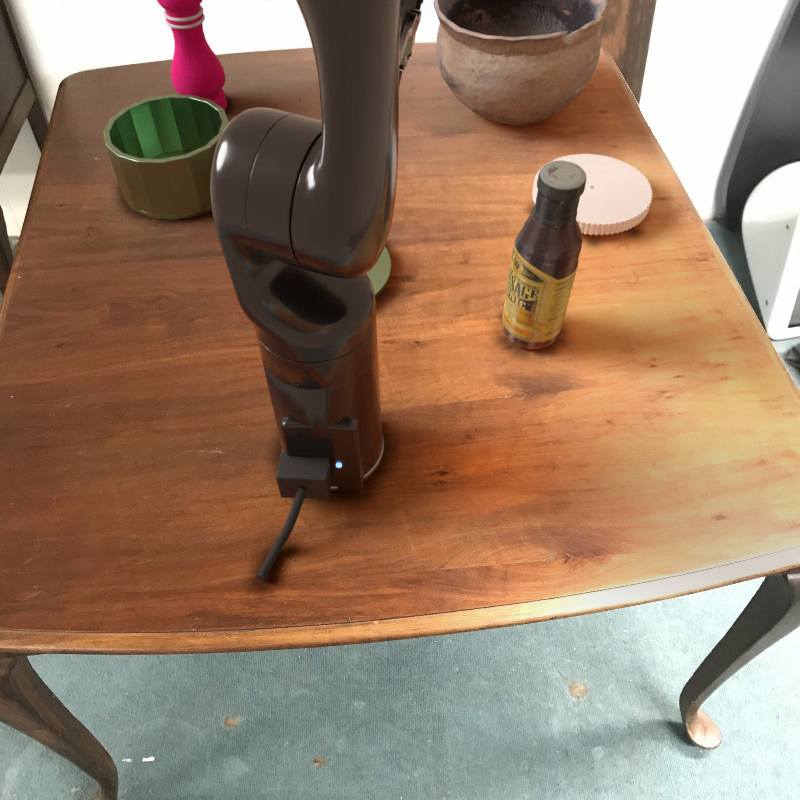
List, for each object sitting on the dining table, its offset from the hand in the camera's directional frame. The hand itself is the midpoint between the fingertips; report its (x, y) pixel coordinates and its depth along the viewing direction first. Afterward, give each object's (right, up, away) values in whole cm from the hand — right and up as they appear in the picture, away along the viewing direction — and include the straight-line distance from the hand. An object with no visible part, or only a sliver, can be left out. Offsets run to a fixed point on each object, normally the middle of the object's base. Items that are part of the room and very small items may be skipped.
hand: (374, 117), depth 72 cm
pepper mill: (-25, +15, +38) cm, 48 cm away
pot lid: (-6, -12, +15) cm, 20 cm away
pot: (-25, +1, +26) cm, 36 cm away
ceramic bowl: (+18, +15, +37) cm, 44 cm away
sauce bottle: (+16, -19, +9) cm, 27 cm away
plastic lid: (+26, -3, +23) cm, 34 cm away
